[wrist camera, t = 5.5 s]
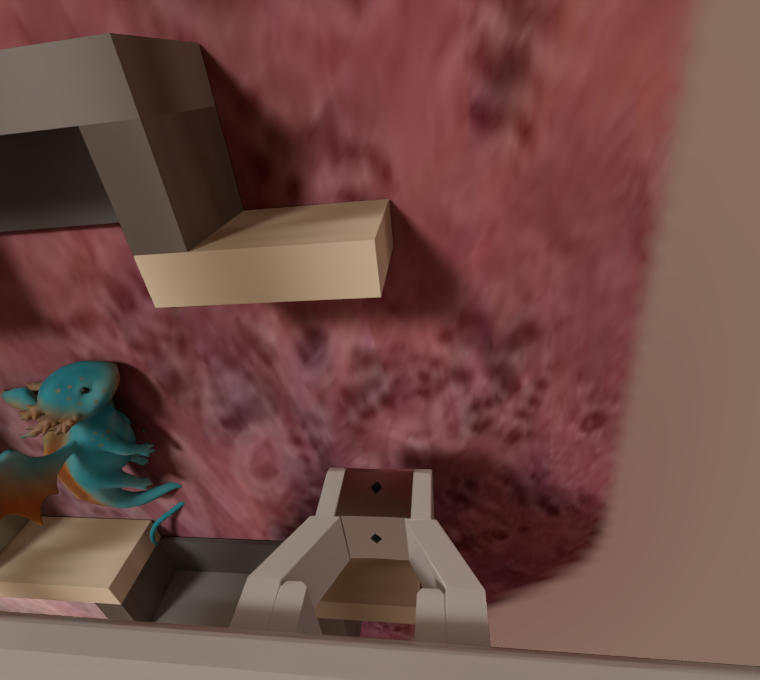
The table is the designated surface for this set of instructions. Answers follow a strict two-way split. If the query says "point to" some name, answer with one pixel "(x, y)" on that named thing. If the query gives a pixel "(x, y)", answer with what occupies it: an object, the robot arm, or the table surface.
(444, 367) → the table surface
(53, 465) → the dragon figurine
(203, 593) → the channel
